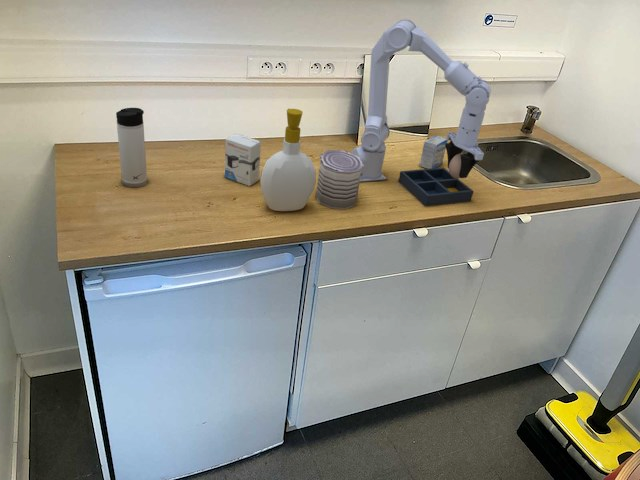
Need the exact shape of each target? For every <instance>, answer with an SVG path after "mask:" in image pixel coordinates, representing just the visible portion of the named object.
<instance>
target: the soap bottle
mask: <svg viewBox="0 0 640 480" xmlns="http://www.w3.org/2000/svg"><path fill="white" fill-rule="evenodd" d="M302 116H303V111H302V110H301V109H298V108H287V109H286V117H287V118H286V119H287V126H285V130H284V131H285V133H284V138H283V141H282V142H283V143H282V150H280V151H278V152H275V153H274V154H272V155H271V156H270V157H269V158H268V159H267V161H266V162H265V164H264V166H263V167H262V170H261V176H260V179H259V181H260V192H261V195H262V197H263V200H264V202H265V203H266V205H267V207H268V208H269V209H270V210H272V211H276V212H292V211H293V212H295V211H299V210H302V209H303V208H305V206H306V205H307V203H308V202H309V200H310V199H311V196H312V195H313V193H314V190H315V187H316V183H317V171H316V168H315V165H314V162H313V160H312V159H311V158H309V156H307V154H306V153H304V152H301V150H300V149H301V142H302V141H301V139H300V138H301V128H300V124H301V120H302Z"/></svg>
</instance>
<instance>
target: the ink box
mask: <svg viewBox="0 0 640 480" xmlns="http://www.w3.org/2000/svg"><path fill="white" fill-rule="evenodd" d="M224 148H225V152H224V153H225V154H224V157H225V158H224V178H225V179H229V180H231V181H234V182H237V183H238V184H239V183H240V184H242V185H245V186H248V187H250V186H252V185H254V184H255V183H257V182H258V181H260V168H261V167H260V163H261V148H262V142H261V140H258V139H256V138H255V139H254V138H251V137H248V136H245V135H244V134H243V135H242V134H240V133H234V134H232V135H230V136H228V137H226V138H225V146H224Z"/></svg>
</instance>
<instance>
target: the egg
mask: <svg viewBox="0 0 640 480" xmlns="http://www.w3.org/2000/svg"><path fill="white" fill-rule="evenodd" d="M461 154H462V153H461ZM461 154H457V155H456V156H454V157H453V159H452V160H451V162H450V164H449V169H448V171H449V173H450V175H451V176H452V177H453V178H456V179H459V180H460V179H461V178H460V177H459V174H460V169H461V156H460V155H461Z"/></svg>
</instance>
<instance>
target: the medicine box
mask: <svg viewBox="0 0 640 480" xmlns="http://www.w3.org/2000/svg"><path fill="white" fill-rule="evenodd" d="M448 141H449V140H447V139H446V138H445V137H444V136H440V135H434V136H432V137H430V138H429V139H427V140H425V141H424V143H423V147H422V151H421V156H420V161H419V167H421V168H422V169H433V168H438V167H440V165H442V164H443V162H444V159H445V158H444V157H445V153H446V151H447V150H446V147H445V144H446V143H448Z"/></svg>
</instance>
